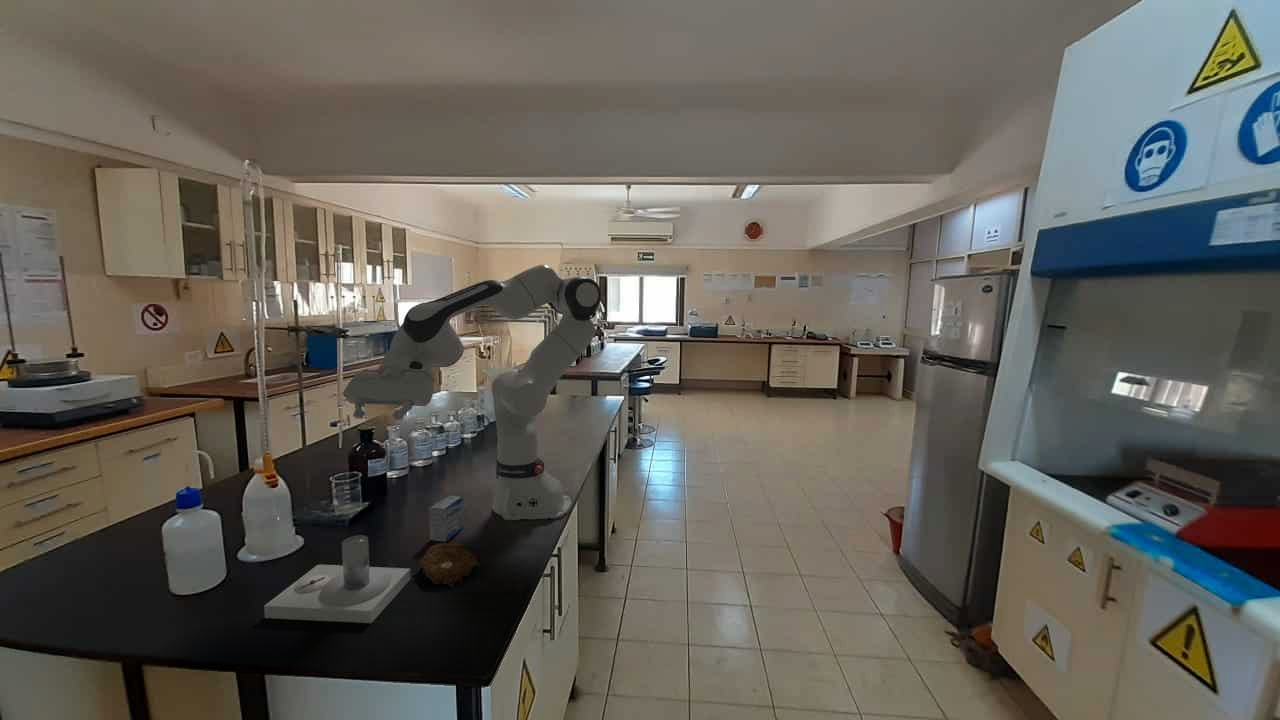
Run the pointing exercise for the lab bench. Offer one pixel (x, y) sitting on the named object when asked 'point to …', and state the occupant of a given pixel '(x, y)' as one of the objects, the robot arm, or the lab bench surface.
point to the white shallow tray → (337, 595)
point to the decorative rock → (447, 563)
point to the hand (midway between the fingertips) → (377, 418)
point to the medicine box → (446, 518)
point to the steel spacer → (355, 562)
